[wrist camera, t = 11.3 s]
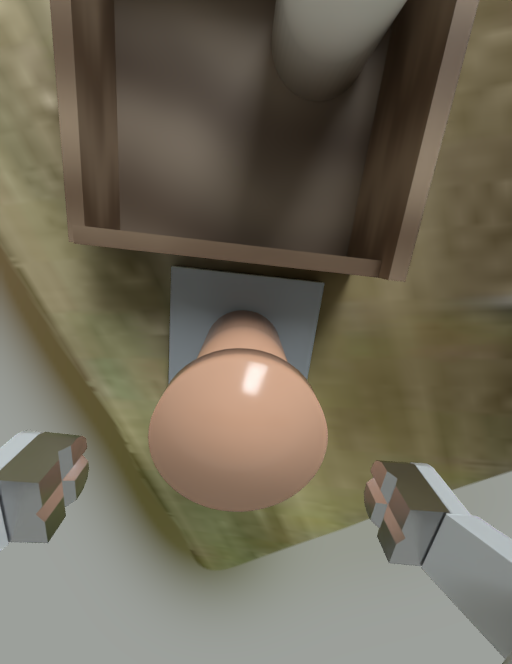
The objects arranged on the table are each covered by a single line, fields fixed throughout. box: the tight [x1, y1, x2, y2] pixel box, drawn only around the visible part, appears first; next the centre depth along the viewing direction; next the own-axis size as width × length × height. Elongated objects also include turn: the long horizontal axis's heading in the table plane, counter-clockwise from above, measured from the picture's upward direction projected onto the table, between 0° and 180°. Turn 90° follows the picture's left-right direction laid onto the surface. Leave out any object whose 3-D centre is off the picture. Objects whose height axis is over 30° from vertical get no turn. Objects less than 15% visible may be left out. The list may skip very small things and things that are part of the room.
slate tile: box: [169, 266, 324, 383], centre depth 20 cm, size 10×10×1 cm
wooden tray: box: [50, 0, 479, 282], centre depth 13 cm, size 16×16×7 cm
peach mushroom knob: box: [148, 310, 328, 512], centre depth 15 cm, size 6×6×10 cm
